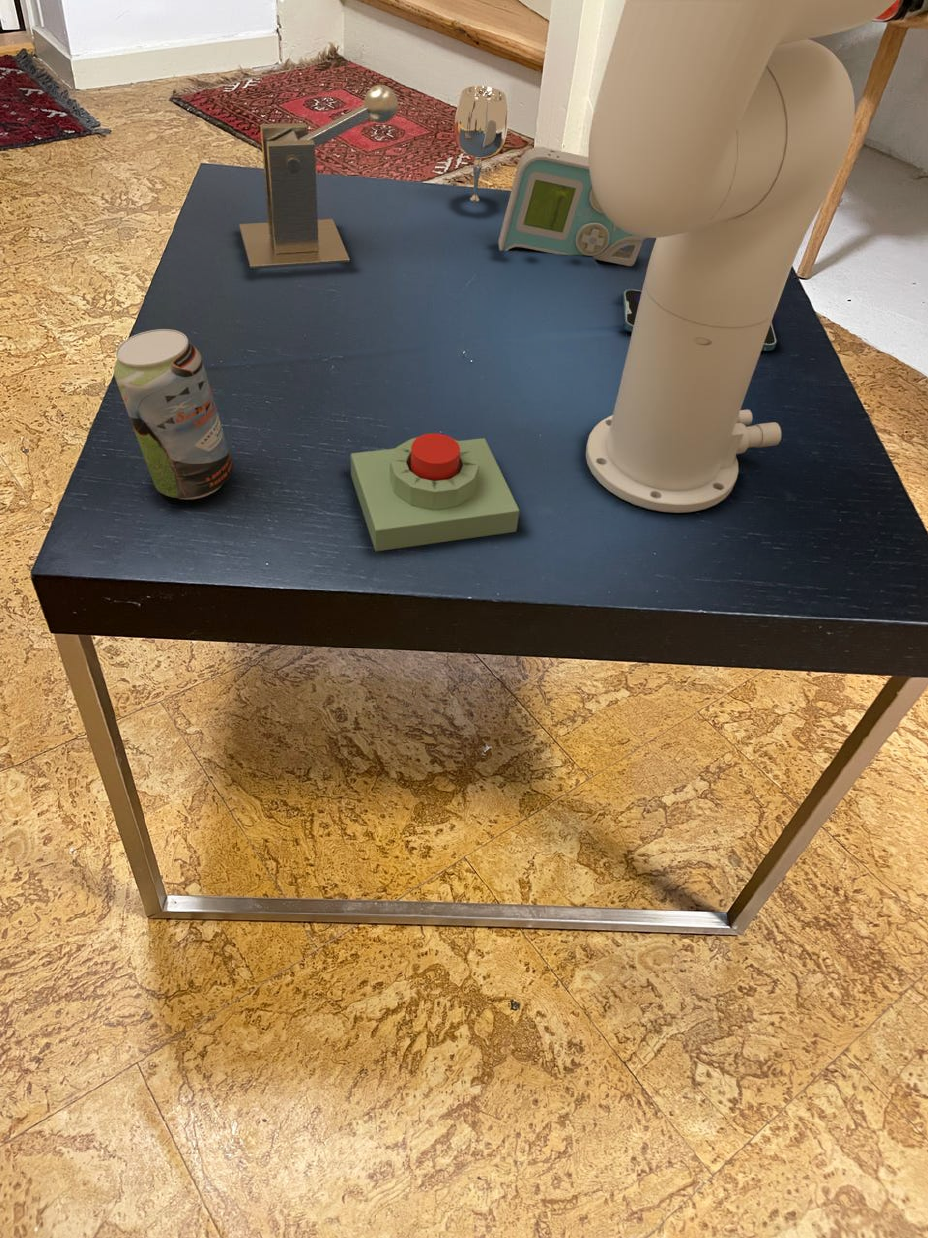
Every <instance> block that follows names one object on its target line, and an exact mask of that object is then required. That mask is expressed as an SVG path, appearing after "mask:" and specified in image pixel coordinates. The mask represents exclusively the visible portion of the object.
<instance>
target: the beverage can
mask: <svg viewBox="0 0 928 1238" xmlns="http://www.w3.org/2000/svg"><path fill="white" fill-rule="evenodd" d="M115 357H116V361H115V364H114V367H113V376H114V380H115V382H116V384H117V387H118V390H119V392H120V395H121V398H122V401H123V403H124V406H125V409H126V412H127V414H128V417H129V420H130V422H131V425H132V427H133V431H134V434H135V435H136V439H137V441H138V444H139V447H140V450H141V452H142V455H143V458H144V461H145V463H146V467H147V469H148V472H149V475H150V477H151V481H152V483H153V485H154V488H155V489H156V490H157V492H159V493H160V494H162V495H164V496H166V497H170V498H174V499H179V500H196V499H202V498H204V497H205V498H206V497H207V496H210V495H212V494H213V493H215V492H216V491H218V490H219V489H220V488H221V487H222V486H223V485H224V484H225V483H226V482H227V481H228V480H229V479H230V477H231V476H232V474H233V469H234V465H233V461H232V457H231V454H230V451H229V447H228V444H227V439H226V436H225V433H224V430H223V426H222V423H221V420H220V419H221V418H220V416H219V412H218V409H217V405H216V402H215V399H214V395H213V392H212V388H211V385H210V381H209V378H208V374H207V371H206V368H205V364H204V361H203V357H202V354H201V352H200V351H199V349H197V347H196V346H194V344H192V343H191V342H190V341H189V339H188V337H187V335H186V334H184V333H183V332H181V331H178V330H176V329H168V328H159V329H151V330H147V331H143V332H139V333H137V334H134V335H132V336H130V337H128V338H127V339H125V340H124V341H122V342H121V343H120V344H119V345H118V346H117V348H116V350H115Z"/></svg>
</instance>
